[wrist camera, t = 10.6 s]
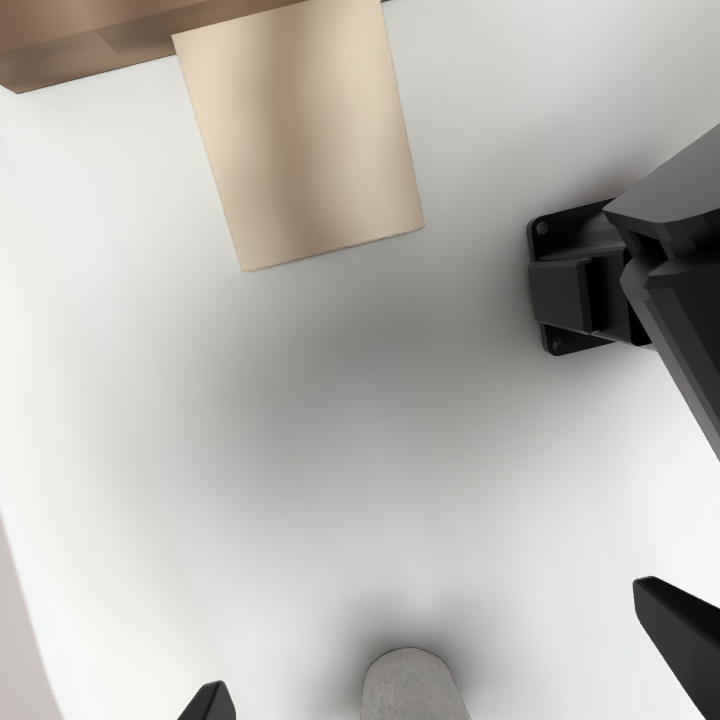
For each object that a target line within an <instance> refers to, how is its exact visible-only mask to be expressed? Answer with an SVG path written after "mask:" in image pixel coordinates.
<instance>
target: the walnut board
mask: <svg viewBox="0 0 720 720" xmlns="http://www.w3.org/2000/svg"><path fill="white" fill-rule="evenodd" d="M383 1H387V0H0V85H2V86H4V87H5V88H7V89H9V90H11V91H13V92H14V93H16V94H19V93H23V92H27V91H31V90H35V89H39V88H43V87H47V86H51V85H54V84H58V83H62V82H66V81H70V80H74V79H78V78H82V77H86V76H90V75H94V74H98V73H102V72H106V71H110V70H114V69H118V68H122V67H126V66H130V65H134V64H138V63H141V62H145V61H149V60H153V59H157V58H161V57H165V56H169V55H173V54H177V56H178V60H179V63H180V66H181V70H182V73H183V76H184V80H185V83H186V86H187V90H188V93H189V96H190V100H191V103H192V106H193V110H194V113H195V116H196V120H197V123H198V126H199V130H200V133H201V136H202V139H203V143H204V146H205V149H206V153H207V156H208V159H209V163H210V166H211V169H212V173H213V176H214V179H215V183H216V186H217V189H218V193H219V196H220V199H221V203H222V206H223V209H224V213H225V216H226V219H227V223H228V226H229V229H230V233H231V236H232V239H233V243H234V246H235V249H236V253H237V256H238V259H239V263H240V266H241V269H242V272H250V271H254V270H258V269H262V268H266V267H270V266H274V265H278V264H282V263H286V262H290V261H294V260H298V259H302V258H306V257H310V256H314V255H318V254H322V253H326V252H330V251H335V250H339V249H343V248H347V247H351V246H355V245H359V244H363V243H367V242H371V241H375V240H379V239H383V238H387V237H391V236H395V235H399V234H403V233H407V232H411V231H415V230H419V229H421V228H423V227H425V226H424V221H423V216H422V210H421V205H420V200H419V195H418V190H417V185H416V180H415V175H414V170H413V165H412V160H411V155H410V150H409V145H408V139H407V134H406V129H405V124H404V119H403V114H402V109H401V104H400V99H399V94H398V89H397V84H396V79H395V74H394V69H393V63H392V58H391V53H390V48H389V43H388V38H387V33H386V28H385V23H384V18H383V13H382V8H381V3H380V2H383Z"/></svg>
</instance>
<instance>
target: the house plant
mask: <svg viewBox="0 0 720 720" xmlns="http://www.w3.org/2000/svg"><path fill="white" fill-rule="evenodd" d="M360 720H471V718H470V716H469V714H468V712H467V710H466V707H465V705H464V703H463V701H462V698H461V696H460V694H459V692H458V689H457V687H456V685H455V683H454V681H453V678H452V676H451V674H450V672H449V669H448V667H447V666H446V665H445V663H444V662H443V660H442V659H440V658H438V657H437V656H435V655H434V654H431V653H429V652H427V651H424V650H421V649H417V648H401V649H397V650H394V651H390V652H388V653H387V654H385V655H383V656H381V657H380V658H378V659H377V660H376V661H375V662H374V663H373V664H372V665H371V667H370V668H369V670H368V671H367V673H366V676H365V679H364V684H363V694H362V704H361V714H360Z"/></svg>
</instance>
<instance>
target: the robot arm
mask: <svg viewBox="0 0 720 720" xmlns="http://www.w3.org/2000/svg"><path fill="white" fill-rule="evenodd" d="M539 223H540V224H542V225H543V231H542V233H541V234H539V233H538V232H537V230H536V228H537V225H538V224H539ZM527 234H528V241H529V248H530V255H531V262H532V263H531V265H530V266H529V268H528V272H529V279H530V285H531V292H532V299H533V306H534V313H535V319H536V320H537V321H539V322H540V325H541V332H542V339H543V346H544V349H545V351H546V352H547V353H549V354H551V355H554V356H561V355H565V354H569V353H573V352H577V351H581V350H585V349H589V348H593V347H597V346H601V345H605V344H609V343H614V342H621V343H625V344H629V345H633V346H637V347H641V348H645V349H649V350H653V351H657V352H658V353H659V355H660V357H661V359H662V360H663V362H664V364H665V366H666V367H667V369H668V371H669V373H670V375H671V376H672V378H673V380H674V382H675V383H676V385H677V387H678V389H679V390H680V392H681V394H682V396H683V398H684V399H685V401H686V403H687V405H688V406H689V408H690V410H691V412H692V413H693V415H694V417H695V419H696V421H697V422H698V424H699V426H700V428H701V429H702V431H703V433H704V435H705V436H706V438H707V440H708V442H709V444H710V445H711V447H712V449H713V451H714V452H715V454H716V456H717V458H718V459H719V461H720V124H718V125H717V126H715V127H714V128H713V129H711V130H710V131H709V132H707V133H706V134H704V135H703V136H702V137H700V138H699V139H697V140H696V141H695V142H693V143H692V144H691V145H689V146H688V147H686V148H685V149H684V150H682V151H681V152H679V153H678V154H677V155H675V156H674V157H672V158H671V159H670V160H668V161H667V162H666V163H664V164H663V165H661V166H660V167H659V168H657V169H656V170H654V171H653V172H652V173H650V174H649V175H647V176H646V177H645V178H643V179H642V180H641V181H639V182H638V183H636V184H635V185H634V186H632V187H631V188H629V189H628V190H627V191H625V192H624V193H623V194H621V195H620V196H618V197H617V198H613V199H609V200H605V201H601V202H597V203H593V204H589V205H585V206H581V207H577V208H573V209H569V210H565V211H561V212H557V213H553V214H548V215H544V216H540V217H537V218H535V219H532V220H531V221H530V222H529V224H528V227H527ZM556 341H558V342H559V346H558V347H557V348H556V349H553V344H554V342H556ZM633 594H634V603H635V611H636V615H637V617H638V619H639V621H640V623H641V625H642V626H643V628H644V629H645V631H646V632H647V634H648V635H649V637H650V638H651V640H652V641H653V643H654V644H655V646H656V647H657V649H658V650H659V652H660V653H661V655H662V656H663V658H664V660H665V661H666V663H667V664H668V666H669V667H670V669H671V670H672V672H673V673H674V675H675V676H676V678H677V679H678V681H679V682H680V684H681V685H682V687H683V688H684V690H685V691H686V693H687V694H688V696H689V697H690V699H691V700H692V701H693V703H694V704H695V706H696V707H697V708H698V710H699V711H700V712H701V714H702V715H703V716H704V718H705V719H706V720H720V608H718V607H716V606H714V605H712V604H710V603H708V602H706V601H704V600H702V599H700V598H698V597H696V596H694V595H691V594H689V593H687V592H685V591H683V590H681V589H679V588H677V587H675V586H673V585H671V584H669V583H667V582H665V581H663V580H661V579H659V578H657V577H654V576H647V577H643V578H639V579H635V580H634V581H633ZM177 720H236V712H235V707H234V704H233V702H232V699H231V697H230V694H229V692H228V689H227V687H226V685H225V683H224V682H223V681H222V680H219V681H215V682H211V683H207V684H205V685H203V686H202V687H201V688H200V689H199V691H198V692H197V693H196V695H195V696H194V697H193V699H192V700H191V702H190V703H189V704H188V706H187V707H186V708H185V710H184V711H183V712H182V714H181V715H180V716H179V718H178V719H177Z"/></svg>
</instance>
